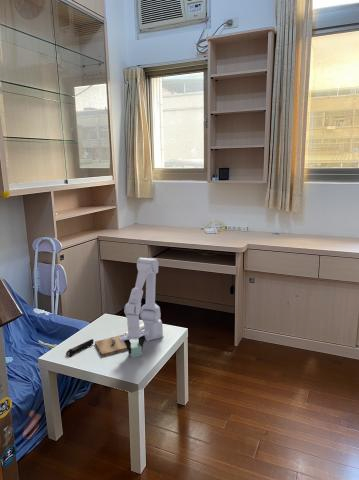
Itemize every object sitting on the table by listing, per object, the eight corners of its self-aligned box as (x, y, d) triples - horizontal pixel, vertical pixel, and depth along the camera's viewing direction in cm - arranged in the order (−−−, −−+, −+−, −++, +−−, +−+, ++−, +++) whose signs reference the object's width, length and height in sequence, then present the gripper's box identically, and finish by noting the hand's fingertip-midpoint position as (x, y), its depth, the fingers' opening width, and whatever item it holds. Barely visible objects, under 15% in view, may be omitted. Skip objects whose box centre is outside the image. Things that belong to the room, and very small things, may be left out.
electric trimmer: (95, 345, 185) (95, 339, 184) (69, 357, 173) (69, 351, 173) (91, 343, 187) (90, 337, 187) (65, 355, 176) (64, 349, 175)
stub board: (124, 336, 192) (123, 330, 191) (133, 348, 180) (132, 341, 179) (95, 344, 185) (94, 337, 184) (102, 356, 173) (101, 349, 172)
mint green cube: (138, 350, 177) (137, 341, 176) (141, 355, 173) (141, 346, 172) (128, 353, 175) (128, 344, 174) (132, 358, 171) (131, 348, 170)
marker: (147, 327, 205) (126, 337, 193) (145, 324, 206) (124, 334, 194) (149, 324, 204) (128, 334, 192) (146, 321, 205) (125, 331, 193)
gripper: (121, 333, 164) (123, 359, 167) (150, 326, 170) (151, 351, 173) (117, 327, 170) (119, 352, 173) (145, 320, 177) (146, 345, 180)
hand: (135, 351), depth 174 cm, fingers closed on mint green cube, 5 cm apart
